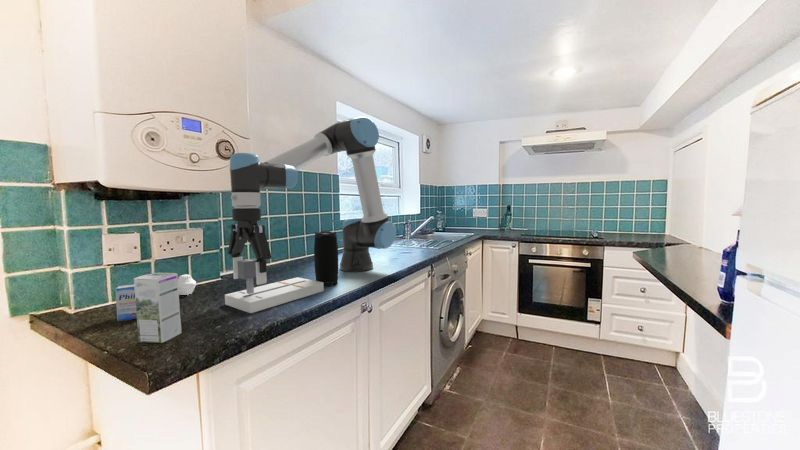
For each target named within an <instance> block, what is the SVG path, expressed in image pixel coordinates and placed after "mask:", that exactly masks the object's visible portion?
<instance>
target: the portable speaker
mask: <svg viewBox="0 0 800 450" xmlns="http://www.w3.org/2000/svg"><path fill="white" fill-rule="evenodd" d="M313 256H314V259H313V260H314V275H315V281H319V282H323V286H324V288H326V287H331V286H332V285H333V284H338V283H339V281H338V279H339V246H338V237H337V231H333V232H332V231H330V230H329V231H328V230H322V231H319V232H314V245H313Z"/></svg>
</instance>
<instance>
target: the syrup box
mask: <svg viewBox="0 0 800 450" xmlns="http://www.w3.org/2000/svg"><path fill="white" fill-rule="evenodd" d="M178 278H179V276H178V273H177V272H152V273H146V274H144V275H139V276H137V277H134V278H133V284H134V289H135V301H136V314H137V318H136V322H137V334H138V335H137V338H138V339H137V340H138V343H149V344H154V343H155V344H163V343H165V342H167V341H170V340H172V339H174V338H175V337H176V336H179V335H180V334H181V335H182V321H181V308H180V307H181V306H180V295H179V290H178Z"/></svg>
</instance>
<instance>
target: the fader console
mask: <svg viewBox="0 0 800 450" xmlns="http://www.w3.org/2000/svg"><path fill="white" fill-rule="evenodd" d="M324 291H325V287H324V286H323V282H319V281H316V280H313V279H307V278H303V277H298V276H297V277H293V278H289V279H285V280H281V281H280V280H279V281H276V282H273V283H272V282H271V283H268V284H267V283H266V284H262V285H258V286H256V287H255V286H254V293H251V294H248V293H247V288H246V289H242V290H239V291H234V292H230V293H226V294H224V304H225V306H229V307H232V308H234V309H236V310H240V311H243V312H246V313H249V314H253V313H257V312H260V311H264V310H266V309H271V308H274V307H276V306H279V305H282V304H283V305H284V304H286V303H289V302H292V301H295V300H299V299H302V298H305V297H308V296H309V297H310V296H312V295H315V294H318V293H321V292H324Z"/></svg>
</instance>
